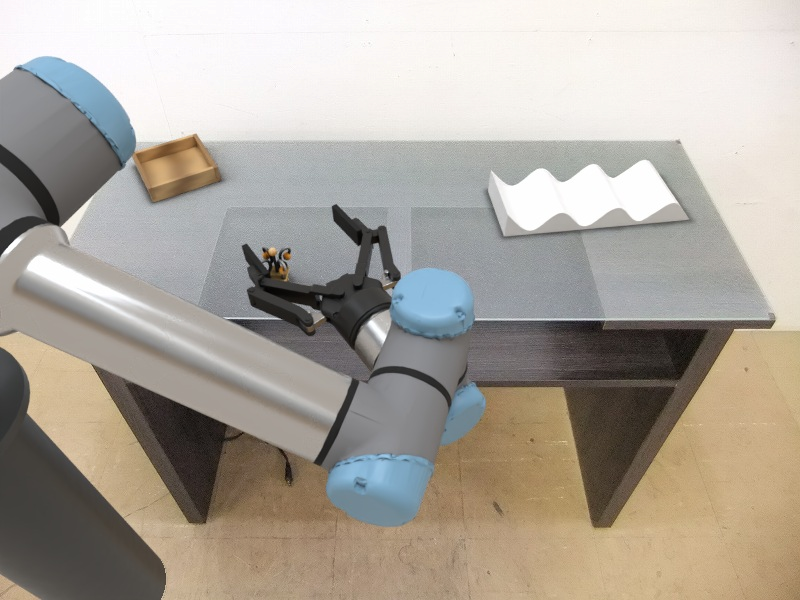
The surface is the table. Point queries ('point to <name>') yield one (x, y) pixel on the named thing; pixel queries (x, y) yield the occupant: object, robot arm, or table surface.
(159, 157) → the tray
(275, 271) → the gold potted plant ornament
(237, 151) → the table surface
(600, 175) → the white wavy block
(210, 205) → the table surface
